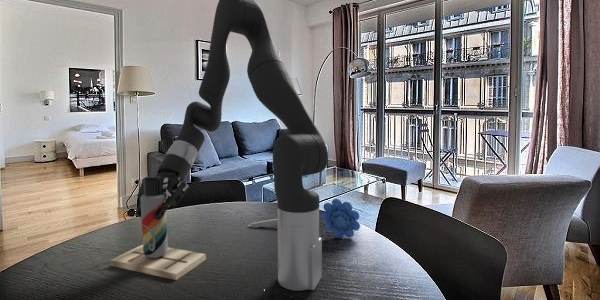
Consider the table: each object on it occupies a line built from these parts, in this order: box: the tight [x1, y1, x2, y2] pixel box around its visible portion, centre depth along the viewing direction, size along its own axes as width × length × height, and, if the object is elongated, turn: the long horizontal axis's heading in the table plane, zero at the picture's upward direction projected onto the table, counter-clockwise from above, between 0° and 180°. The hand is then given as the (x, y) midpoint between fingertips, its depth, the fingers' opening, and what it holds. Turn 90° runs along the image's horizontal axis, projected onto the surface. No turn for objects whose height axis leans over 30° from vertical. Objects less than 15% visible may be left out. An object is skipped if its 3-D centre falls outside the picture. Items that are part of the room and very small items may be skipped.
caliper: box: [247, 218, 278, 228], centre depth 110 cm, size 20×1×6 cm, turn 89°
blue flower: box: [320, 198, 361, 239], centre depth 100 cm, size 12×7×12 cm, turn 83°
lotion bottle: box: [140, 176, 169, 258], centre depth 85 cm, size 6×6×20 cm
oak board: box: [110, 243, 207, 281], centre depth 85 cm, size 20×11×2 cm, turn 70°
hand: (147, 216), depth 83 cm, fingers closed on lotion bottle, 5 cm apart
